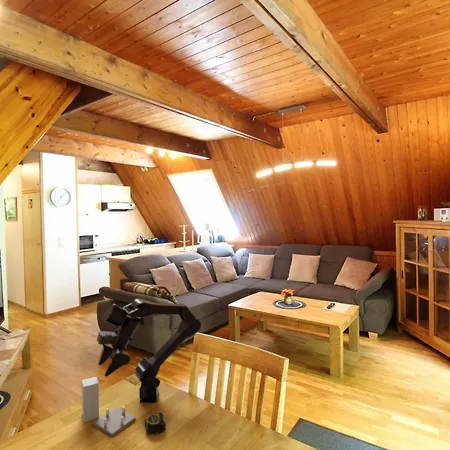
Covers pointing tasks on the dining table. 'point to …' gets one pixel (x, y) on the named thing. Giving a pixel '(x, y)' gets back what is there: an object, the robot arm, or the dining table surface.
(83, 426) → the dining table surface
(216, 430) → the dining table surface
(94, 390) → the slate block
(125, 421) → the plate
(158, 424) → the tape measure
